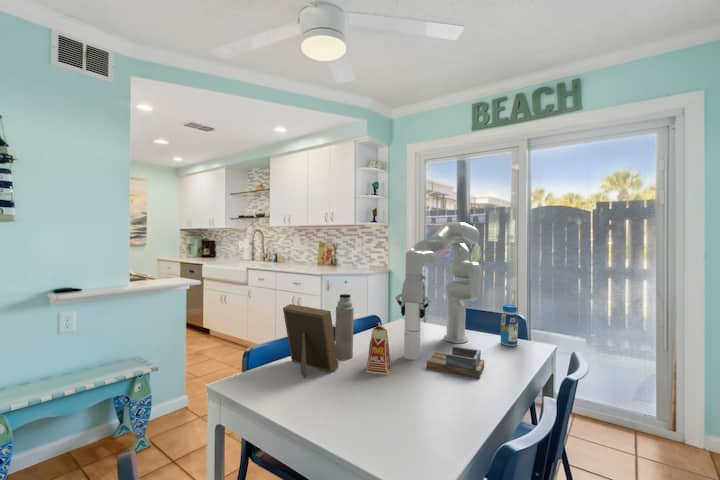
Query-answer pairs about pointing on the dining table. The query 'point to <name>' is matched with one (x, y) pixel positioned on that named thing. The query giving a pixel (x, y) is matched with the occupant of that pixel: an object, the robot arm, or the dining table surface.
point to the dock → (458, 362)
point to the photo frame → (311, 338)
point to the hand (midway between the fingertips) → (412, 316)
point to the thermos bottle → (344, 328)
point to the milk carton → (379, 352)
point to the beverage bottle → (509, 325)
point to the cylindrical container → (412, 331)
